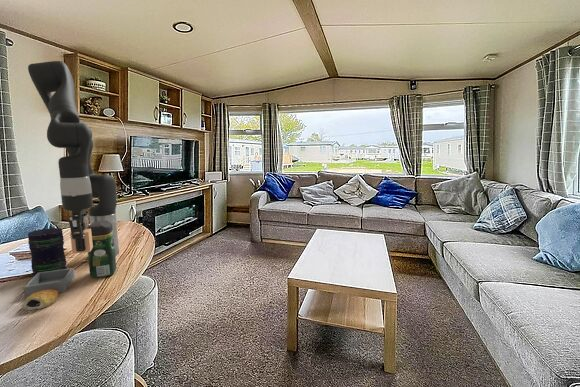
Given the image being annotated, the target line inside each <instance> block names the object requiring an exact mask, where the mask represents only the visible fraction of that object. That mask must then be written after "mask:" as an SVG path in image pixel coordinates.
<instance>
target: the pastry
mask: <svg viewBox="0 0 580 387" xmlns="http://www.w3.org/2000/svg"><path fill="white" fill-rule="evenodd" d="M58 297H59V292H58V291H57V290H54V289H46V290H42V291H39V292H35V293H33V294H31V295H30V296H28V297H25V300H24V301H23V304H22V305H21V308H22V309H24V311H31V310H40V309H41V310H42V309H44V308H45V309H46V308H47V307H50V306H52V304H53V303H55V302H56V300H57V299H58Z"/></svg>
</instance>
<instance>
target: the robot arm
mask: <svg viewBox="0 0 580 387" xmlns="http://www.w3.org/2000/svg"><path fill="white" fill-rule="evenodd" d="M27 70H28V74H29V76H30V79H31V82H32V83H33V85H34V87H35V89H36V91H37V92H38V94H39V96H40V98H41V100H42V102H43V103H44V105H45V108H46V109H47V112H48V113H49V116H50V122H49V123H48V126H47V129H46V139H47V141H48V143H49V144H50V145H51V146H53V147H55V148H59V149H65V150H66V153H67V155H66V156H63V157H60V158H59V159H58V162H57V163H58V170H59V189H60V197H61V198H60V199H61V205H62V206H61V207H62V209H63V210H64V211H71V215H70V216H69V221H68V224H69V228H70V234H72V239H74V240H75V243H76V251H77V252H81V251H85V249H86V248H85V239H84V238H85V236H84V231H85V230H86V229H89V225H90V224H92V223H94V222H95V221H108V222H110V223H112V225H113V226H112V227H113V238H114V249H115V256H118V254H120V248H119V236H118V234H119V233H118V227H117V226H118V225H117V223H118V222H117V215H116V211H117V210H116V208H117V204H118V203H117V202H118V201H117V183H116V180H115V178H114V177H113V176H112V175H109V174H95V172H94V170H93V167H92V164H91V157H92V153H93V148H94V142H93V133H92V129H91V128H90V126H89V125H88V124H86V123H85V122H84V121H83V120H81V119H80V115H79V112H78V108H77V105H76V95H75V94H76V92H75V82H74V79H73V75H72V73H71V71H70V68H69V67H68V65H67V63H65V62H64V61H62V60H52V61H44V62H43V61H41V62H36V63H30V64H29V65H28V66H27ZM52 93H53V94H52ZM93 198H95V199H96V198H98V204H96V205H94V200H93ZM87 209H88V210H87ZM76 232H80V234H76Z"/></svg>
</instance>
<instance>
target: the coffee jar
mask: <svg viewBox="0 0 580 387" xmlns="http://www.w3.org/2000/svg"><path fill="white" fill-rule="evenodd" d="M112 226H113V225H112V223H110V222H108V221H95V222H94V223H92V224H90V223H89V229H91V233H92V243H93V248H92V250H91V252H87V256H88V268H89V276H90V278H92V279H93V278H97V279H100V278H101V279H102V278H106V277H110V276H113V275H114V273H115V272H117V260H116V259H117V258H116V255H115V249H114V238H113V227H112Z"/></svg>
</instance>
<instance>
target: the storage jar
mask: <svg viewBox="0 0 580 387" xmlns="http://www.w3.org/2000/svg"><path fill="white" fill-rule="evenodd" d="M27 237H28V238H27V239H28V243H27V244H28V246H29V250H30V255H31V270H32V271H31V272H32V276H33V277H34V276H35V275H36V274H37V273H38V272H46V271H54V270H62V269H68V268H67V259H66V254H65V249H64V244H65V240H64V239H65V238H64V234H63V229H62V228H59V227H50V228H48V227H47V228H42V229H36V230H33V231H30V232H28V233H27Z"/></svg>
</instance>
